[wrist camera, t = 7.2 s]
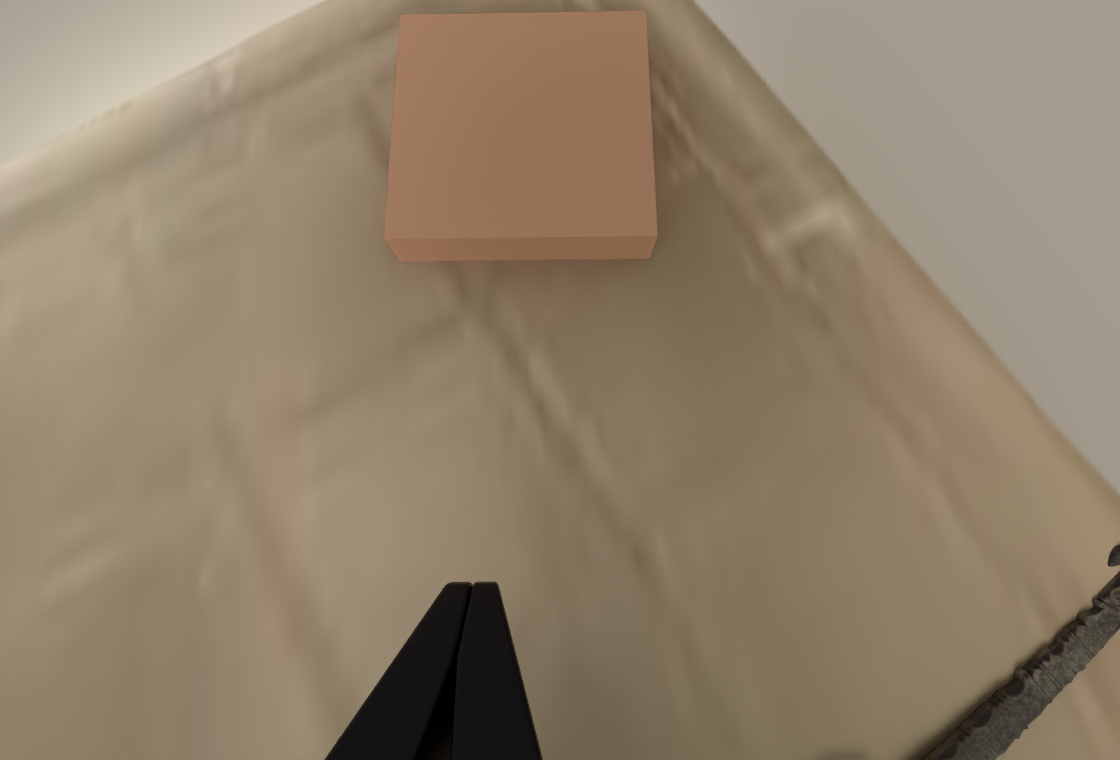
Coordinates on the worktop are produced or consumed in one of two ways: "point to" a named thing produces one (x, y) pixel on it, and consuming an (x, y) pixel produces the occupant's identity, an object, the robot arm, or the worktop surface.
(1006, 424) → the worktop surface
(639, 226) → the tile
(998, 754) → the hacksaw
